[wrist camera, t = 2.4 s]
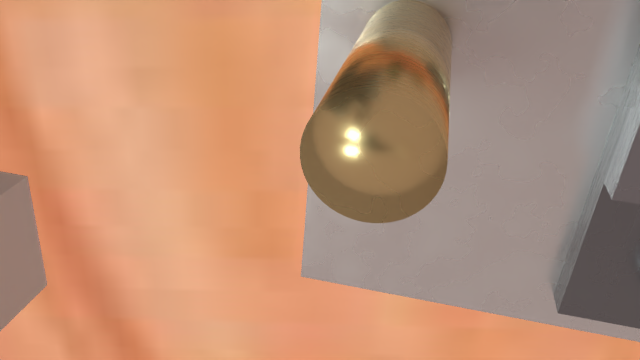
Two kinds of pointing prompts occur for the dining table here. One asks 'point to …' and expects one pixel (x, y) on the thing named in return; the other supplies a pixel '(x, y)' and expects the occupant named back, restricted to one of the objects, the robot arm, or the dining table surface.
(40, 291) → the robot arm
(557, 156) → the square hole fixture plate
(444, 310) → the dining table surface
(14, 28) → the dining table surface
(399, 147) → the brass pin
